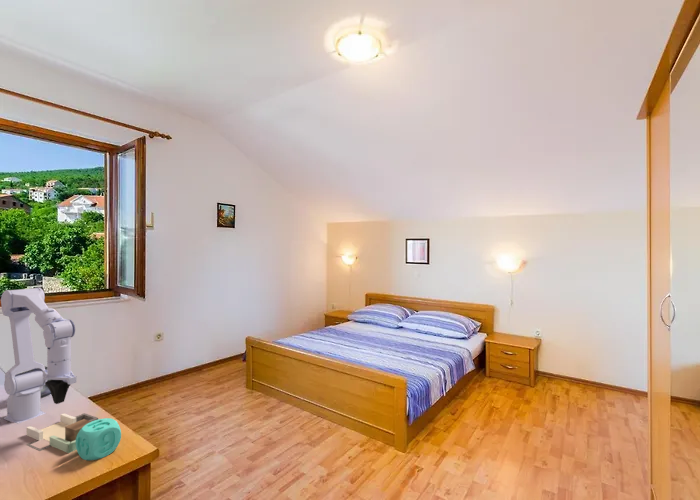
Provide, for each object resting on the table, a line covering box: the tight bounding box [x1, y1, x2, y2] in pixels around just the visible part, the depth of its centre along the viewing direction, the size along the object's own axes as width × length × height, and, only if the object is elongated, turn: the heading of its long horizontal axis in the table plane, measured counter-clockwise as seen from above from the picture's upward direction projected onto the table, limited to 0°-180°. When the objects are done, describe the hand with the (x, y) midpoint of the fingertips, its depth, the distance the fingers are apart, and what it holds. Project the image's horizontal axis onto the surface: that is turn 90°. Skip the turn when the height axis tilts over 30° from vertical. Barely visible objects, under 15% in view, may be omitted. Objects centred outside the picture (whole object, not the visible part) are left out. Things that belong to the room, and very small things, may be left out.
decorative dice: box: [76, 417, 122, 461], centre depth 100 cm, size 8×8×8 cm
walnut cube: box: [65, 419, 91, 442], centre depth 104 cm, size 5×5×5 cm
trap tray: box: [25, 412, 99, 454], centre depth 107 cm, size 22×16×3 cm
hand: (59, 402), depth 109 cm, fingers closed
